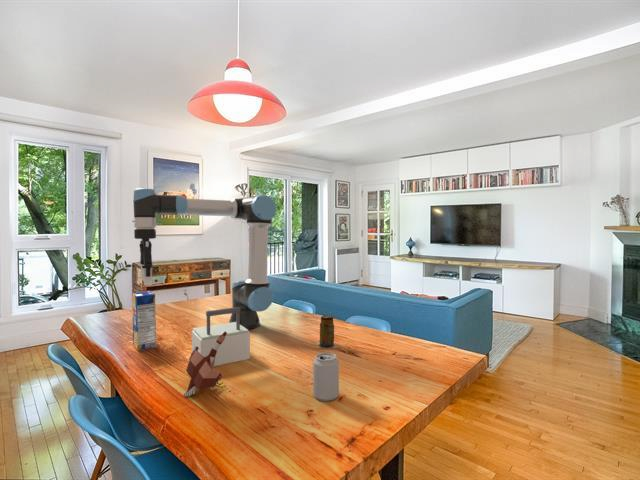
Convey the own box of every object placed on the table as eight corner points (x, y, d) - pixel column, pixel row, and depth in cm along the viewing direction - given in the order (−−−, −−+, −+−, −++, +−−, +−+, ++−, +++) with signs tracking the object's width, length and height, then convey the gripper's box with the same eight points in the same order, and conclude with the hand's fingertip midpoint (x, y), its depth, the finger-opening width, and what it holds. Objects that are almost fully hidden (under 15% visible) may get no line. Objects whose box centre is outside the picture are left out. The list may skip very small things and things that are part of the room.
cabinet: (237, 347, 144) (237, 323, 143) (250, 358, 132) (249, 332, 131) (191, 356, 134) (191, 330, 134) (201, 368, 122) (200, 340, 122)
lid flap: (236, 323, 143) (235, 301, 143) (248, 332, 131) (248, 307, 131) (193, 330, 134) (192, 306, 134) (202, 340, 122) (201, 313, 122)
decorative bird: (262, 387, 100) (242, 343, 96) (202, 430, 91) (178, 383, 87) (229, 357, 124) (213, 320, 120) (179, 388, 115) (160, 350, 111)
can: (312, 390, 106) (312, 351, 105) (337, 389, 106) (337, 350, 106) (314, 403, 98) (314, 360, 98) (340, 401, 99) (340, 360, 99)
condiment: (331, 341, 152) (331, 314, 152) (339, 347, 144) (339, 318, 144) (315, 343, 150) (315, 315, 149) (322, 349, 142) (322, 320, 141)
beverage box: (137, 350, 140) (136, 296, 140) (133, 343, 149) (132, 292, 148) (156, 347, 144) (155, 294, 144) (150, 340, 153) (149, 290, 153)
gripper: (132, 228, 145) (133, 279, 146) (136, 228, 124) (137, 288, 124) (152, 228, 149) (153, 278, 150) (159, 228, 127) (161, 286, 128)
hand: (146, 282), depth 137 cm, fingers open, 13 cm apart
